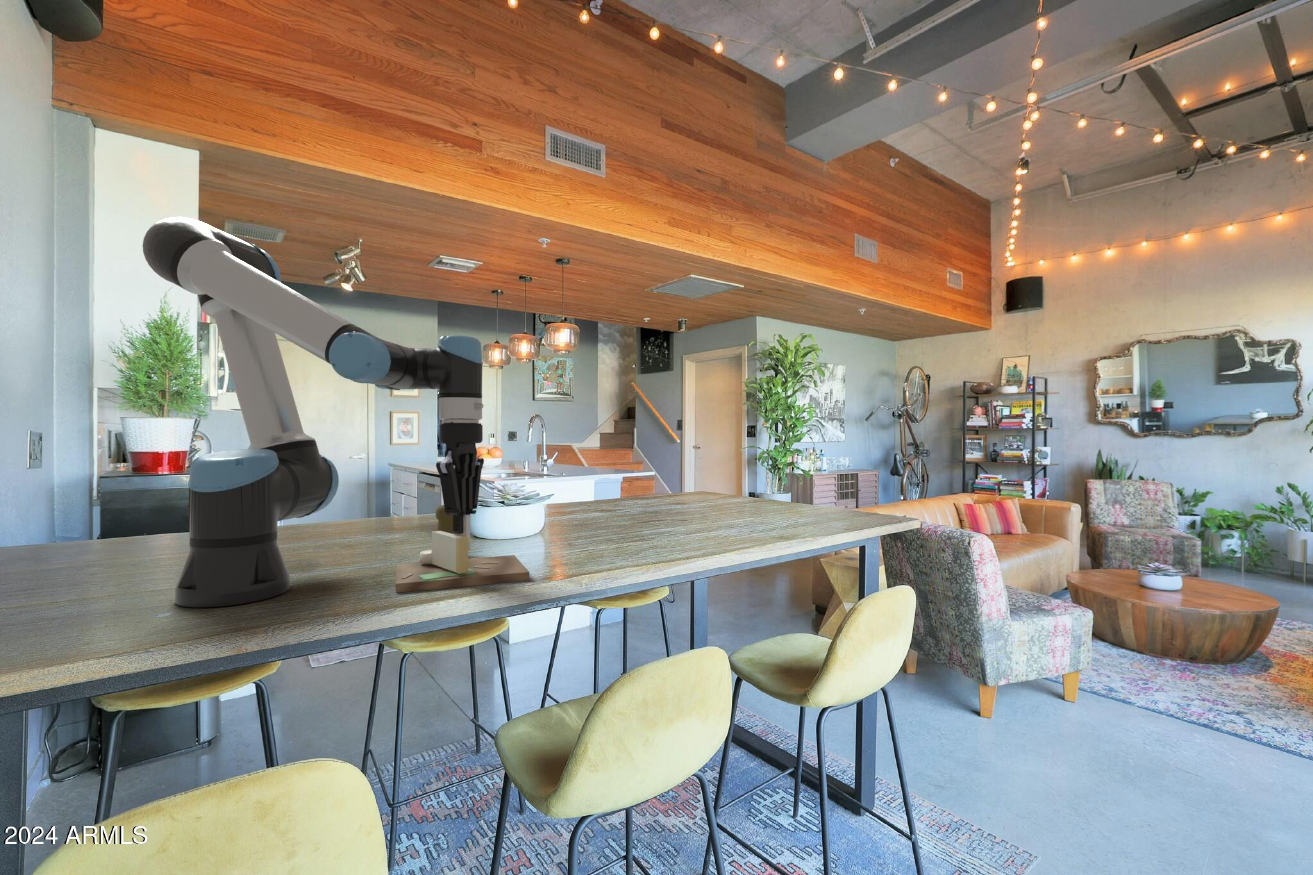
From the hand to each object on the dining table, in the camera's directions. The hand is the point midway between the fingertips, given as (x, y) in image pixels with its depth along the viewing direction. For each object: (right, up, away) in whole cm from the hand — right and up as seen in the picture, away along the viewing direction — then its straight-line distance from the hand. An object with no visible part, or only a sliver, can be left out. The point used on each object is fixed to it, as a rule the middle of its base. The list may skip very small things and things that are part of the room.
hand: (461, 550), depth 108 cm
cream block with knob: (-3, -3, 0) cm, 4 cm away
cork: (-9, -5, +19) cm, 22 cm away
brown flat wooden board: (0, -5, +1) cm, 5 cm away
